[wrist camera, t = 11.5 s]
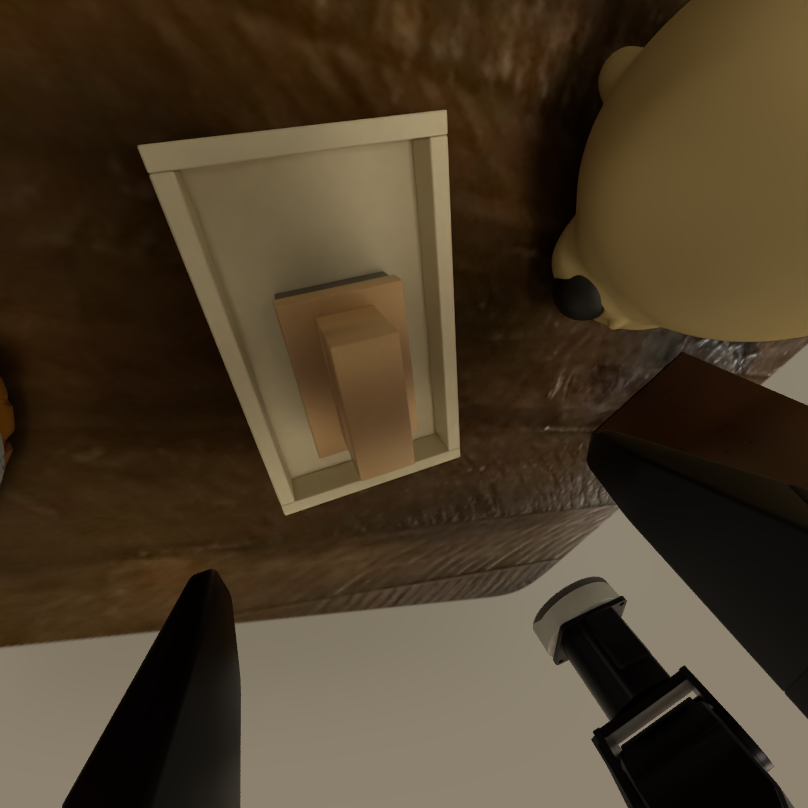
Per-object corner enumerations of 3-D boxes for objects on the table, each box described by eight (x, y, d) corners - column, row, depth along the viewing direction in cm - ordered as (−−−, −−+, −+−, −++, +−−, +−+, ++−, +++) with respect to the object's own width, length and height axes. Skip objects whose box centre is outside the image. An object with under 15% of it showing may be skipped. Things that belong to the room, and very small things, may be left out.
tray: (443, 434, 20) (460, 457, 19) (280, 486, 18) (285, 516, 17) (422, 115, 13) (447, 108, 11) (149, 147, 11) (136, 145, 10)
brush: (404, 407, 18) (445, 467, 15) (312, 434, 17) (332, 506, 14) (386, 267, 15) (434, 301, 11) (269, 291, 14) (282, 337, 10)
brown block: (617, 468, 27) (777, 597, 19) (591, 433, 24) (767, 568, 16) (699, 397, 26) (902, 500, 18) (683, 351, 24) (916, 451, 15)
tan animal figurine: (480, 170, 18) (527, 401, 16) (807, -367, 7) (1089, 185, 5) (647, 188, 21) (704, 384, 19) (1066, -164, 10) (1302, 226, 8)
